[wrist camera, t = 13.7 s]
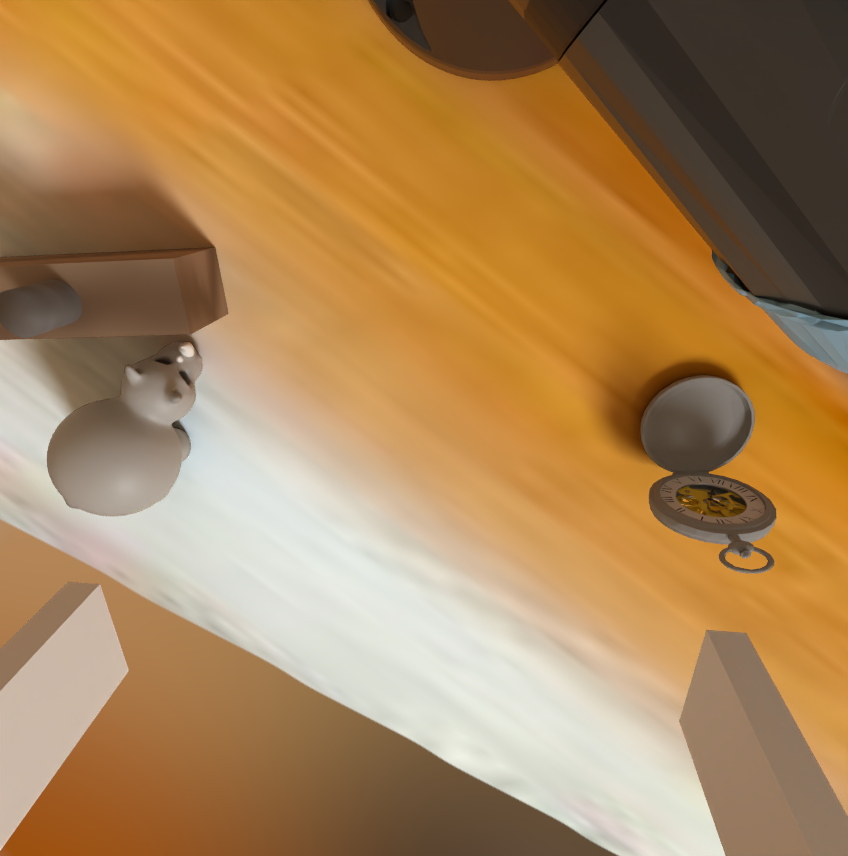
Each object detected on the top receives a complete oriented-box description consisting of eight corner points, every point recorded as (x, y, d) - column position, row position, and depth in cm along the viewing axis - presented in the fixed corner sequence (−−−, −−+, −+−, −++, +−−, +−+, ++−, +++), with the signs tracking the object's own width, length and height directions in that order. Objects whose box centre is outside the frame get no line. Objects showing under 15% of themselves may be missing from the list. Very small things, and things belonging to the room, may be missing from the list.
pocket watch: (718, 351, 33) (810, 417, 24) (777, 453, 35) (881, 550, 26) (596, 422, 35) (637, 507, 26) (659, 513, 38) (716, 620, 29)
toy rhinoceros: (256, 376, 39) (233, 380, 31) (163, 514, 39) (114, 556, 31) (165, 317, 38) (114, 304, 29) (69, 460, 38) (-8, 488, 29)
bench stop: (2, 257, 34) (-126, 278, 27) (215, 247, 33) (140, 267, 26) (24, 320, 36) (-90, 356, 29) (228, 313, 34) (161, 349, 27)
